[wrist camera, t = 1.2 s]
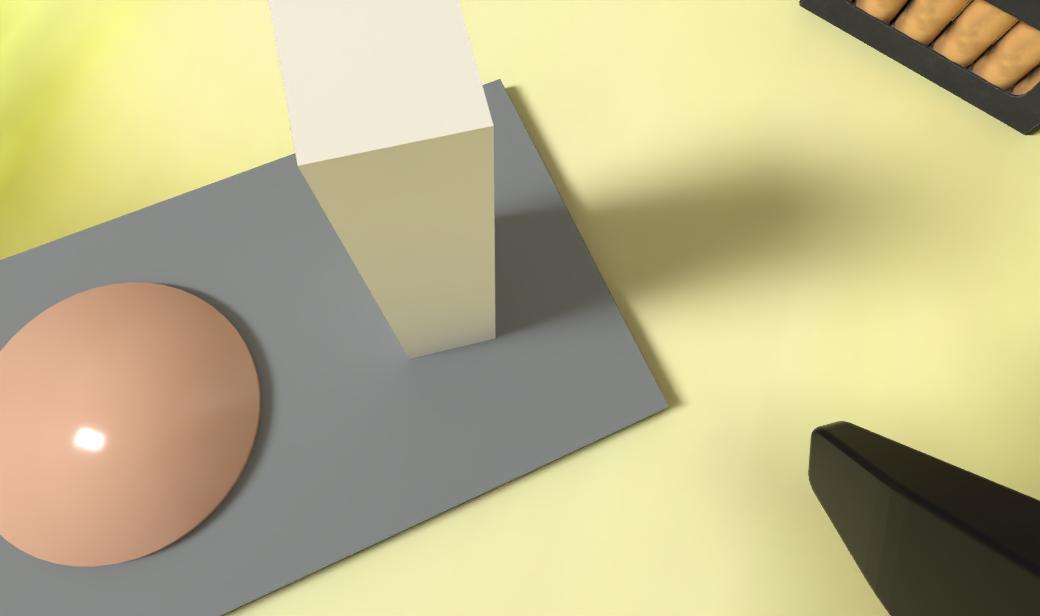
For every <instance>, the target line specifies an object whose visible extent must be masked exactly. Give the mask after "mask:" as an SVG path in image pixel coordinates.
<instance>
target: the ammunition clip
mask: <svg viewBox="0 0 1040 616" xmlns="http://www.w3.org/2000/svg"><path fill="white" fill-rule="evenodd" d="M969 1H970V0H800V1H799V2H800V6H801V7H803V8H805V9H806V10H808V11H810V12H812V13H813V14H815V15H817V16H819V17H820V18H822V19H824V20H826V21H827V22H829V23H831V24H833V25H834V26H836V27H838V28H840V29H841V30H843V31H845V32H846V33H848V34H850V35H852V36H853V37H855V38H857V39H859V40H860V41H862V42H864V43H866V44H867V45H869V46H871V47H873V48H874V49H876V50H878V51H880V52H881V53H883V54H885V55H887V56H888V57H890V58H892V59H893V60H895V61H897V62H899V63H900V64H902V65H904V66H906V67H907V68H909V69H911V70H913V71H914V72H916V73H918V74H920V75H921V76H923V77H925V78H927V79H928V80H930V81H932V82H933V83H935V84H937V85H939V86H940V87H942V88H944V89H946V90H947V91H949V92H951V93H953V94H954V95H956V96H958V97H960V98H961V99H963V100H965V101H967V102H968V103H970V104H972V105H974V106H975V107H977V108H979V109H980V110H982V111H984V112H986V113H987V114H989V115H991V116H993V117H994V118H996V119H998V120H1000V121H1001V122H1003V123H1005V124H1007V125H1008V126H1010V127H1012V128H1014V129H1015V130H1017V131H1019V132H1020V133H1022V134H1024V135H1029V134H1034V133H1035V132H1036V131H1038V130H1039V129H1040V0H972V1H971V2H970V3H969V4H968V5H967V7H966V8H965V9H964V10H963V11H962V12H961V13H960V14H959V15H958V16H957V17H956V18H955V19H954V20H953V21H951V20H952V19H953V18H954V17H955V16H956V15H957V14H958V13H959V12H960V11H961V9H962V8H963V7H964V6H965V5H966V4H967V3H968V2H969ZM1018 19H1019V21H1018V22H1017V23H1015V22H1016V21H1017V20H1018ZM1013 23H1015V24H1014V25H1013V26H1012V27H1011V28H1010V29H1009V30H1008V31H1007V32H1006V33H1005V34H1004V35H1003V36H1001V35H1002V34H1003V33H1004V32H1005V31H1006V30H1007V29H1008V28H1009V27H1010V26H1011V25H1012V24H1013ZM1000 36H1001V37H1000ZM999 37H1000V38H999ZM998 38H999V39H998ZM997 39H998V40H997ZM996 40H997V41H996ZM995 41H996V42H995ZM994 42H995V43H994ZM993 43H994V44H993Z"/></svg>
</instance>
